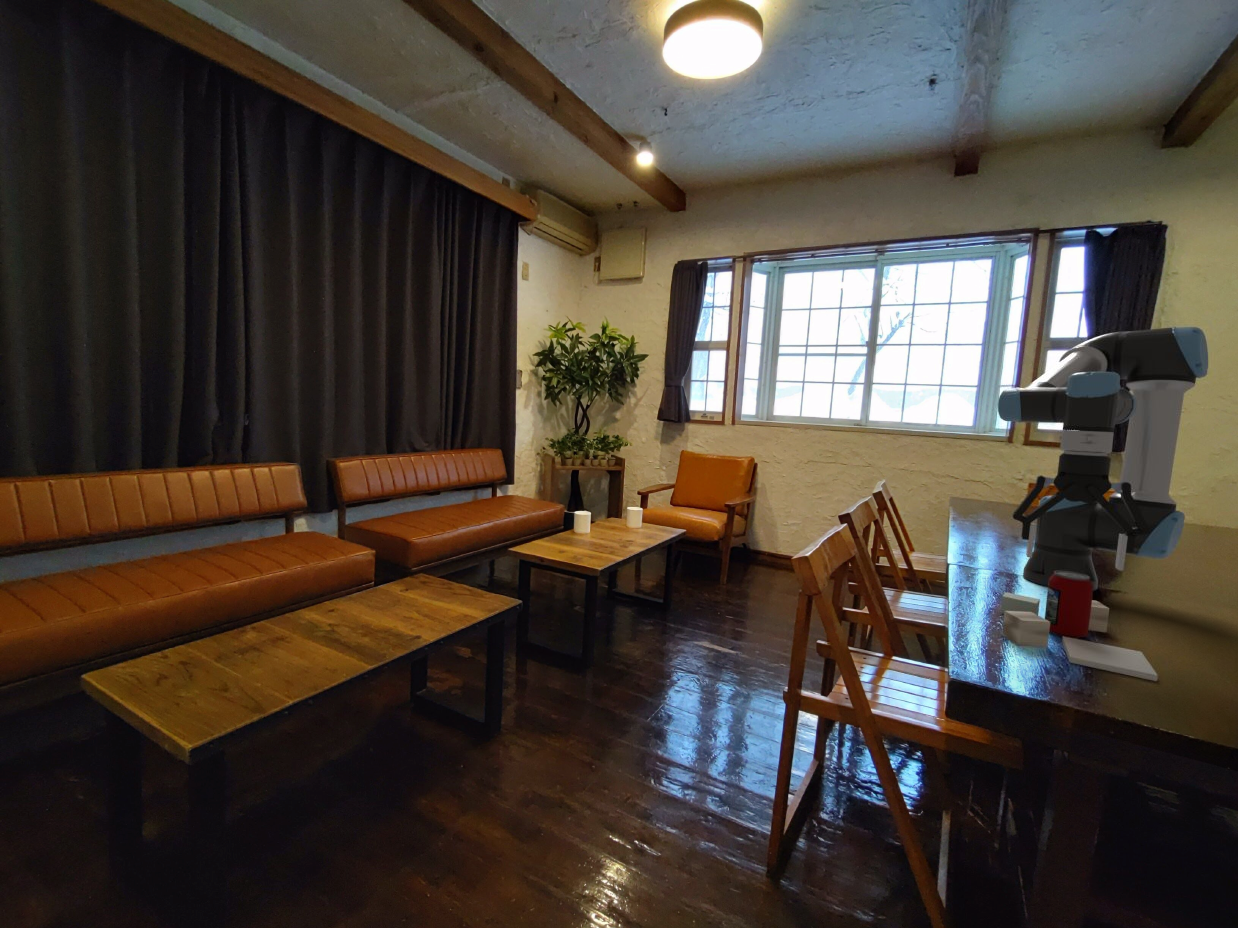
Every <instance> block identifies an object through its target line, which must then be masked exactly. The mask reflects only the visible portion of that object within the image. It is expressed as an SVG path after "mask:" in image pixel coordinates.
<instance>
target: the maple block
mask: <svg viewBox="0 0 1238 928" xmlns="http://www.w3.org/2000/svg"><path fill="white" fill-rule="evenodd" d="M1049 629H1050V621H1048V620H1046V619H1045V617H1042V616H1040V615H1039V614H1038V615H1036V614H1034V613H1032V612H1020V611H1004V614H1003V623H1002V637H1005V638H1006V639H1007V640H1009V641H1010V642H1012V643H1014V644H1015V645H1017V646H1018V647H1028V648H1029V647H1030V648H1046V649H1047V648H1048V646H1049V637H1050V630H1049Z"/></svg>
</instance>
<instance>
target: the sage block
mask: <svg viewBox="0 0 1238 928" xmlns="http://www.w3.org/2000/svg"><path fill="white" fill-rule="evenodd" d="M1040 603H1041V599H1039V598H1036V597H1030V596H1025V595H1022V594H1016V593H1013V592H1012V593H1011V592H1006V591H1005V592H1004V593H1003V595H1002V597H1001V605H1000V606H1001V607H1000V614H1002V615H1004V611H1020V612H1032V613H1034V614H1036V615H1038V616H1039V612H1040V611H1039V610H1040Z"/></svg>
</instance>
